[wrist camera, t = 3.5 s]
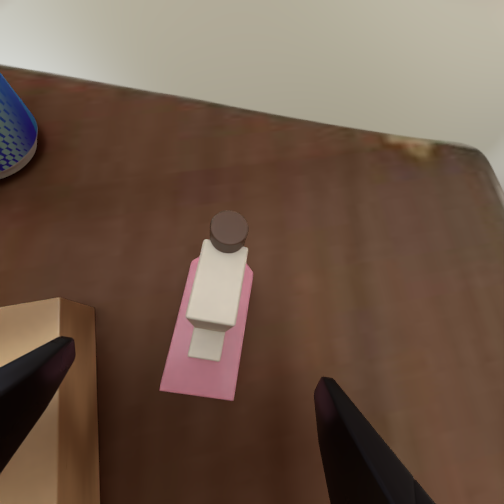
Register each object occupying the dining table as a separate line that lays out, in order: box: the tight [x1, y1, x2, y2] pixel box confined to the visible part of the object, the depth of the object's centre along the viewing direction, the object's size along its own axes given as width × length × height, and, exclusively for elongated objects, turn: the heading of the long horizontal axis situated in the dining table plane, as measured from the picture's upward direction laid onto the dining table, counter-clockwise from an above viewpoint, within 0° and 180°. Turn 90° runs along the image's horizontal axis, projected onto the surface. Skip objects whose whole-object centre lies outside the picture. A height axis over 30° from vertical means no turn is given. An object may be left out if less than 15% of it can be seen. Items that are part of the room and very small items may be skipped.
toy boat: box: [159, 210, 253, 401], centre depth 13 cm, size 10×4×13 cm, turn 171°
